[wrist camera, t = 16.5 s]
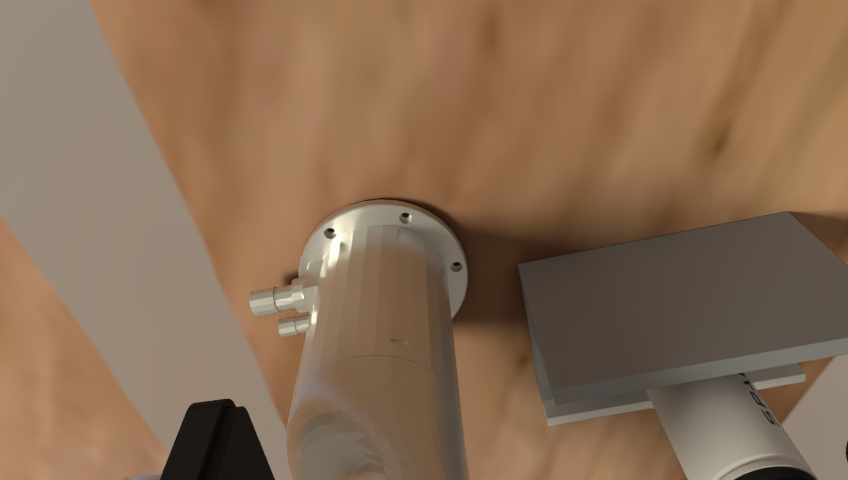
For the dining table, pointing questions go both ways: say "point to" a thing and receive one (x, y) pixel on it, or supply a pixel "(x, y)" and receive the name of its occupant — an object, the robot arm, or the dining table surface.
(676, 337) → the grey bookend
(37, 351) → the dining table surface
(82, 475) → the dining table surface
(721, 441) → the travel mug
